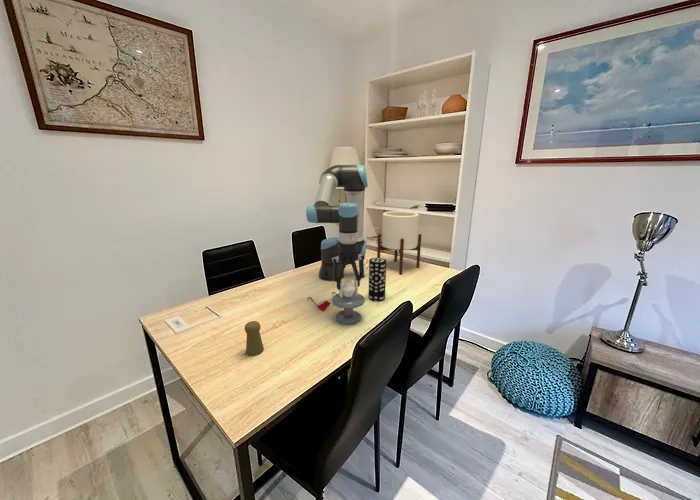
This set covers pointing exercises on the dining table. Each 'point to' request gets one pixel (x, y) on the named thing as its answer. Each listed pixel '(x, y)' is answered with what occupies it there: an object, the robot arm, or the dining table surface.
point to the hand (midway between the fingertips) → (348, 294)
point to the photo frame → (180, 325)
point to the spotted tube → (377, 279)
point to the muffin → (348, 288)
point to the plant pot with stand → (400, 234)
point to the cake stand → (348, 308)
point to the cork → (253, 339)
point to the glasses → (323, 305)
